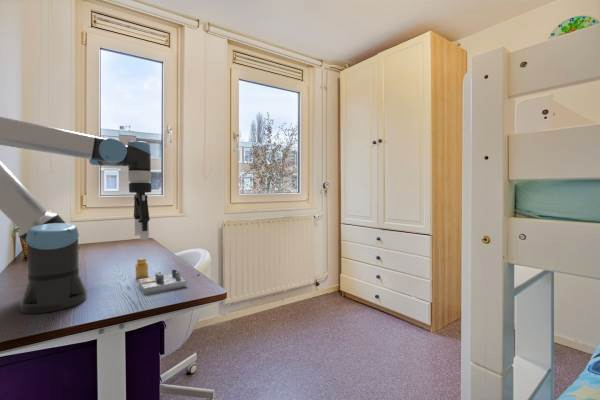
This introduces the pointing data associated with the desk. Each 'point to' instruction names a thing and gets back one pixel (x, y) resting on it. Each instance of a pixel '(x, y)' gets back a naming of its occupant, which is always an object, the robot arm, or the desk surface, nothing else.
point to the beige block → (141, 268)
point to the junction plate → (162, 282)
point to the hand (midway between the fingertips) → (141, 237)
